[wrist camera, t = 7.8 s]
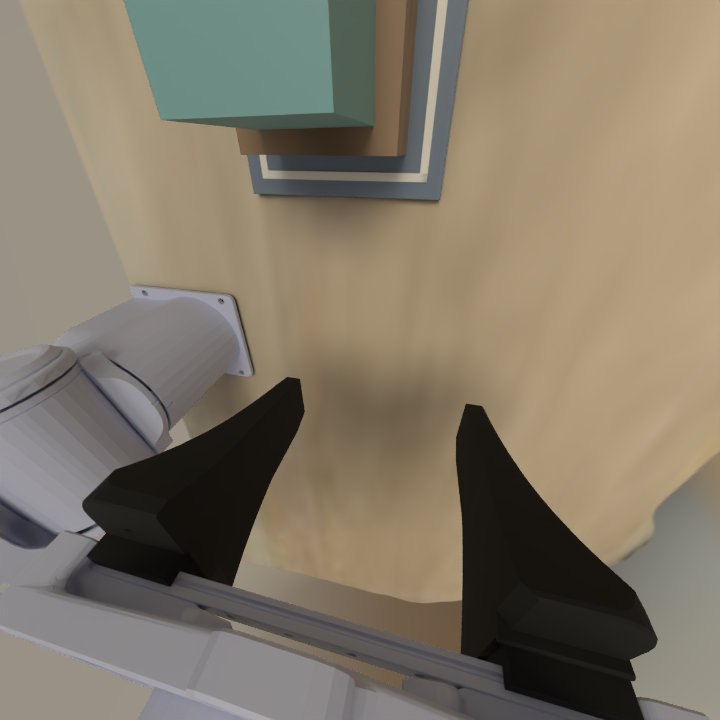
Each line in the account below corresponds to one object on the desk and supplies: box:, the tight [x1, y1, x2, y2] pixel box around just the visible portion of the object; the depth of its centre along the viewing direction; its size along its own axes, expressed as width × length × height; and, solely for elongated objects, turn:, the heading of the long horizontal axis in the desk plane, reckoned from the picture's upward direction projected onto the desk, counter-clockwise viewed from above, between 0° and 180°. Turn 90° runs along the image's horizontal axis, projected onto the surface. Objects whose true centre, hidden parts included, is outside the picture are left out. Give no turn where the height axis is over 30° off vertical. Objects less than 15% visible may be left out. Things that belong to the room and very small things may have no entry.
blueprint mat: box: [247, 0, 468, 200], centre depth 14 cm, size 11×11×1 cm
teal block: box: [124, 0, 376, 130], centre depth 9 cm, size 5×5×6 cm
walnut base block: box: [236, 0, 418, 156], centre depth 12 cm, size 7×7×4 cm
